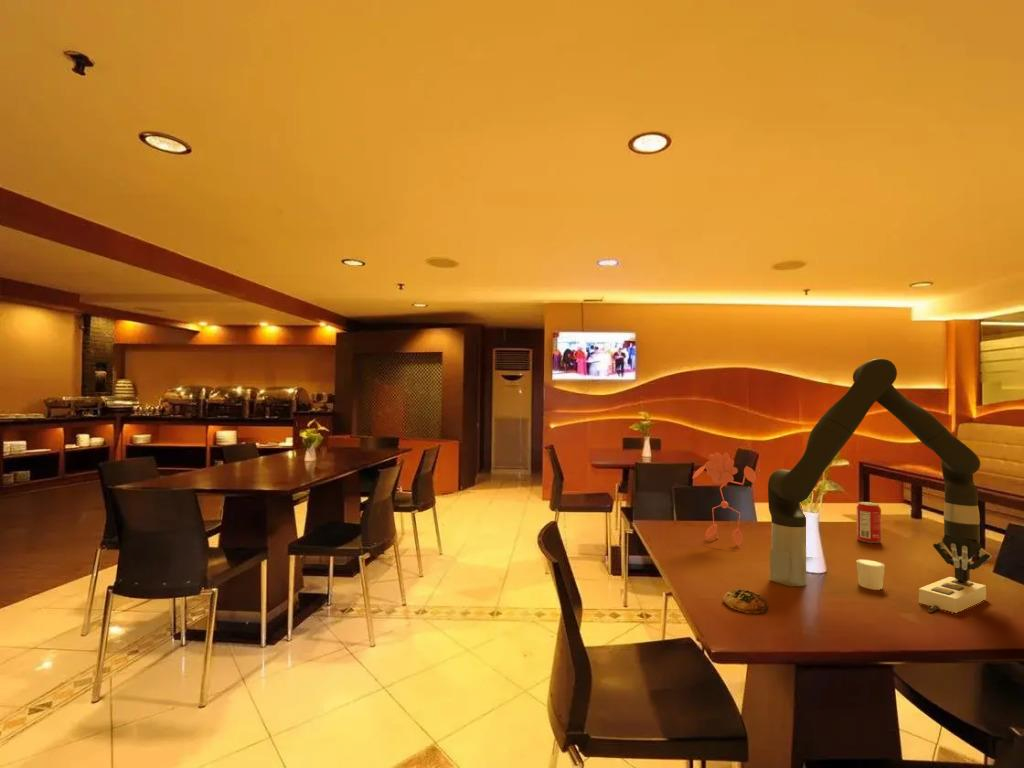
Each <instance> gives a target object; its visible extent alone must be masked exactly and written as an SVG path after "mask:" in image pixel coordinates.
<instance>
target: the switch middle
mask: <svg viewBox="0 0 1024 768" xmlns="http://www.w3.org/2000/svg"><path fill="white" fill-rule="evenodd" d="M942 587H946V588H950V589H954V590H958V591H960V590H963V589H964V587H962V586H958V585H954V584H950V583H945V584H943V585H942Z"/></svg>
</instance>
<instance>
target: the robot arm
mask: <svg viewBox="0 0 1024 768" xmlns="http://www.w3.org/2000/svg"><path fill="white" fill-rule="evenodd" d="M897 376H898V371H897V367H896V365H895V364H894V363H893V362H892V361H891V360H889V359H887V358H873V359H869V360H868V361H865V362H864V363H862V364H861V365H859V366H858V367H857V368H856V369H855V370H854V372H853V373H852V381H853V384H852V385H851V386H850V388H849V389H848V390H847V391H846V393H845V394H844V395H843V396H842V397H841V398H839V399H838V400H837V401H836V402H835V403H833V404H832V406H830V407H829V409H828V410H826V411H825V413H824V414H822V416H821V417H820V418H819V420H818V422H817V423H815V425H814V426H813V428H812V429H811V431H810V433H809V435H808V439H807V444H806V447H805V451H804V452H803V455H802V456H801V458H800V459H799V460H798V462H797V463H796V465H794V466H793V467H792V468H791V470H790V469H783V468H781V469H777V470H775V471H773V472H772V473H771V475H770V476H769V479H768V483H767V496H768V497H767V499H768V500H767V501H768V510H769V513H770V517H771V520H770V521H771V537H770V538H771V541H770V542H771V543H770V544H771V548H770V550H769V556H770V557H769V571H770V572H769V580H770V581H772V582H775V583H777V584H781V585H784V586H787V587H805V586H806V585H807V547H806V517H805V515H804V514H803V512H802V511H801V508H800V502H802V501H804V500H805V499H807V498H808V496H809V495H810V494H811V492H812V491H813V489H815V487H816V485H817V484H818V482H819V480H820V478H821V477H822V476H823V474H824V472H825V471H826V470H827V468H828V466H829V465H830V464H831V463H832V461H833V460H834V459H835V457H836V456H837V455H838V453H839V452H840V451H841V450H842V448H843V447H844V446H845V445H846V443H847V442H848V441H849V439H850V438H851V437H852V436H853V434H854V433H855V432H856V430H857V429H858V428H859V425H860V424H861V423H862V421H863V420H864V418H865V417H866V416H867V414H868V412H869V411H870V409H871V407H872V406H873V405H874V404H875V403H876V402H877V404H879V405H881V407H883V408H884V409H886V410H887V411H888V412H889V413H890V414H892V415H893V416H894V417H895V418H896V419H897V420H899V422H901V424H902V425H904V426H905V428H907V430H909V431H910V432H911V433H912V434H913V435H914V437H916V438H917V439H918V440H919V441H920V442H921V444H923V445H924V446H925V447H927V448H928V449H930V451H932V452H934V453H935V454H936V455H937V456H938V457H939V458H940V460H941V470H942V476H943V482H944V505H943V506H944V507H943V535H944V536H943V537H942V539H941V541H940V542H936V543H934V544H932V546H933V548H934V549H935V551H936V552H937V553H938V554H939V555H940V556H941V558H942V559H943V561H944V562H945V563H946V564H947V565H951V566H952V567H954V578H956V579H957V580H958V582H962V583H966V582H967V581H970V580H971V574H970V572H971V570H972V571H973V570H976V569H979V568H980V567H981V566H982V565H984V564H985V563H986V562H988V561H989V560H991V558H993V554H992V553H991V552H988V551H986V549H984V548H983V545H982V543H981V532H980V531H981V525H980V522H981V518H980V510H979V493H978V488H977V486H976V485H975V483H974V474H975V473H977V472H978V471H979V469H980V467H981V461H980V458H979V456H978V455H977V454H976V453H975V451H973V450H972V449H971V448H969V447H968V446H967V445H966V444H964V443H963V442H962V441H961V440H960V439H958V438H957V437H956V436H954V435H953V433H951V431H949V429H947V427H946V426H945V425H943V423H941V421H939V420H938V418H936V417H935V416H934V415H933V414H932V413H930V411H928V410H926V409H925V408H923V407H921V406H920V405H919V404H916V403H915V402H913V401H911V400H910V399H908V398H907V397H905V396H904V395H903V394H902V393H901V392H899V391H898V389H896V388H895V386H894V385H893V384H894V383H895V382H896V379H897ZM950 553H951V554H950ZM976 554H978V557H979V558H978V559H977V560H975V561H974V562H972V560H973V557H974V556H976Z"/></svg>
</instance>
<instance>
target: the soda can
mask: <svg viewBox="0 0 1024 768" xmlns="http://www.w3.org/2000/svg"><path fill="white" fill-rule="evenodd" d="M879 505H880V504H879V503H875V502H871V501H870V502H869V501H860V502H858V505H856V539H858V540H859V541H860V542H862V541H863V542H862V543H865V542H867V544H872V543H876V544H879V543H881V542H882V509H881V507H880V506H879Z"/></svg>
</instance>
